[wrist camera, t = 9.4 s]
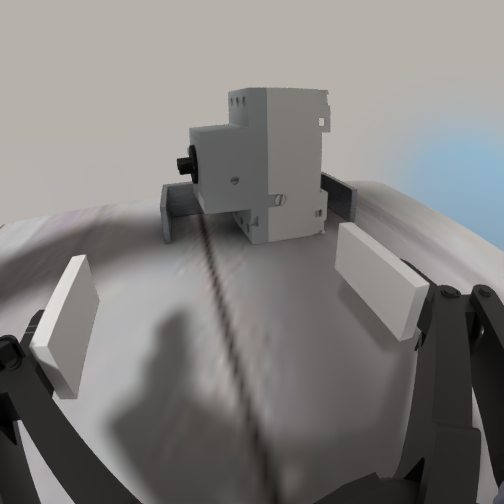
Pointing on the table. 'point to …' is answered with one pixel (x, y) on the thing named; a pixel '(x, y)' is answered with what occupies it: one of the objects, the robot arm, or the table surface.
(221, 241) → the table surface
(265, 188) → the circuit breaker
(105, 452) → the table surface
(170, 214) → the grey u-shaped bracket
